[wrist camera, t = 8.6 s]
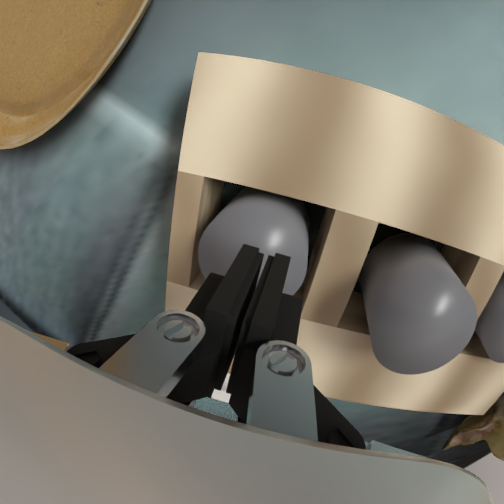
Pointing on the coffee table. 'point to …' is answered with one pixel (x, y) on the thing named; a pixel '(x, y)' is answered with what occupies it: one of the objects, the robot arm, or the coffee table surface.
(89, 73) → the plant saucer
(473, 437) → the ceramic sculpture
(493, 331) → the button
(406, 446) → the coffee table surface
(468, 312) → the middle button
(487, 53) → the coffee table surface
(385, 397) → the button board
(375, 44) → the coffee table surface
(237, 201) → the button
